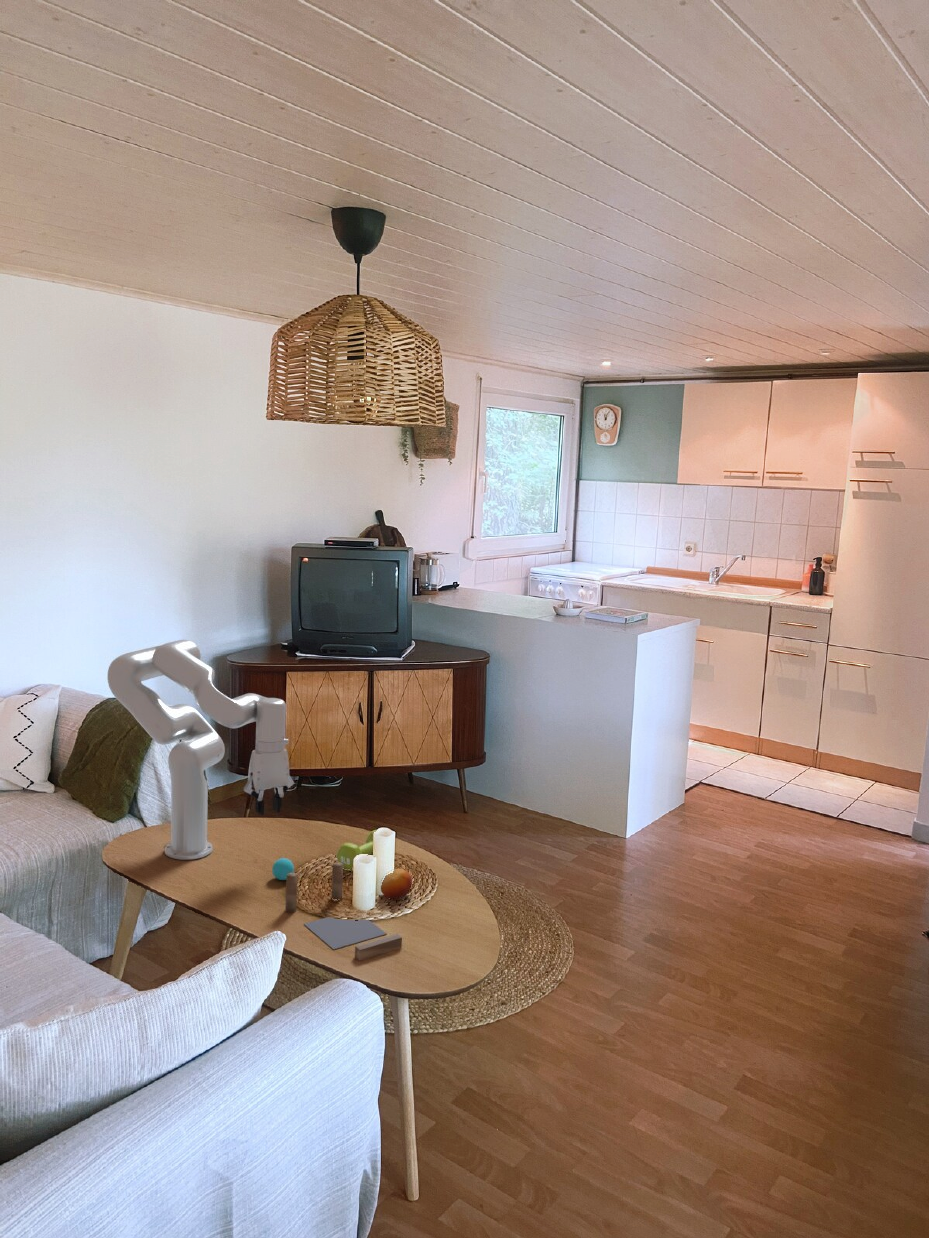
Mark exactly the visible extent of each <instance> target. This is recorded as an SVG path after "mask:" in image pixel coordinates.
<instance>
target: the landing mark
mask: <svg viewBox="0 0 929 1238" xmlns="http://www.w3.org/2000/svg"><path fill="white" fill-rule="evenodd" d="M329 917H330V916H327V917H323V918H320V919H317V920H313V921H309V922H305V923H304V924H303V925H304V926H305V927H306V928H307V929H308V930H310V931H311V932H312V933H313V934H314V935H315V936H317V937H318V938H319V939H320V940H321V941H323V942H324V943H325V944H326V945H327V946H328V947H329V948H330V949H332V950H339V949H342V948H345V947H348V946H352V945H356V944H359V943H361V942H366V941H369V940H372V939H373V940H374V939H375V938H380V937H383V936H386V935H387V932H385V931H384V930H383V929H381V928H380V927H378V925H376V924H375V923H373V922H372V921H370V919H368V920H358V921H355V920H341V919H334V918H329Z"/></svg>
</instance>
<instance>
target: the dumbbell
mask: <svg viewBox="0 0 929 1238" xmlns="http://www.w3.org/2000/svg"><path fill="white" fill-rule="evenodd" d="M377 830H378V829H374V830H372V831H371V832H369V834H368V836H367V837H366V839H365V843H364V844H362V845H359V846H358V845H357V844H354V843H352V842H345V843H343V844H341V845H340V847H339V849H337V852H336V859H337V862H339V863H343V868H344V869H350V870H351V872H350V873H353V872H352V867H353V858H354V857H355V856H356V855H359V854H369V855H371V856H372V855H373V833H374V832H376V831H377Z"/></svg>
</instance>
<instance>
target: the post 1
mask: <svg viewBox="0 0 929 1238" xmlns="http://www.w3.org/2000/svg"><path fill="white" fill-rule="evenodd" d="M298 875H299V874H298V873H295V872H293V873H288V874H287V878H286V880H285V881H286V882H285V884H286V885H285V907H284V908H285V909H284V910H285V912H286V913H288V914H294V913H296V912H297V902H298V901H297V900H298V877H299V876H298Z"/></svg>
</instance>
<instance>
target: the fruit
mask: <svg viewBox="0 0 929 1238" xmlns="http://www.w3.org/2000/svg"><path fill="white" fill-rule="evenodd" d="M393 870H394V871H393V873H390V874H388V875H386V876H385V878H384V880H383V882H382V885H381V884H380V891H381V893H382V894H383V896H384V897H386V898H387V899H388V898H390V899H389V900H391V899H396V900H395V901H398V900H403V899H405V900H406V897H407V896H408V895H410V894H409V893H410V892H411V889H412V885H413V878H412V875H411V874H410V873H409V872H408V871H407V870H405V869H403V868H394V869H393Z"/></svg>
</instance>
